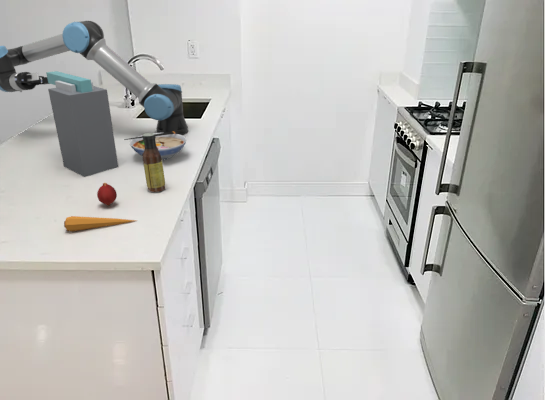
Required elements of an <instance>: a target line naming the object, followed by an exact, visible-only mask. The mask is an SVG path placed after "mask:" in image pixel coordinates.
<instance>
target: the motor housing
mask: <svg viewBox="0 0 545 400" xmlns="http://www.w3.org/2000/svg"><path fill="white" fill-rule="evenodd" d="M91 85H92V91H91V92H84V93H81V92H77V91H76V88H75V85H74V84H70V83H66V82H63V81H55V85H54V86H55V87H52V88H48V95H49V100H50V104H51V110H52V114H53V118H54V119H53V120H54V124H55V125H54V126H55V130H56V134H57V138H58V144H59V149H60V154H61V158H62V164H63V167H65V169H67V170H70V171H72V172H74V173H76V174H77V175H79V176H81V177H84V178H86V177H89V176H94V175H96V174H101V173H104V172H106V171H109V170H113V169H116V168H117V169H118V168H119V163H118V155H117V150H116V142H115V141H116V140H115V136H114V135H115V134H114V129H113V122H112V115H111V108H110V101H109V94H108V90H107V88H102V87H99V86H94V82H92V81H91Z"/></svg>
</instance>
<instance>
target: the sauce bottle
mask: <svg viewBox="0 0 545 400" xmlns="http://www.w3.org/2000/svg"><path fill="white" fill-rule="evenodd" d="M154 133H155V132H145V133H143V134H142V135H143V140H144V145H145V146H144V147H145V149H144V152H143V156H142V161H143V169H144V176H145V182H146V187H147V191H148V192H151V193H160V192H163V191H164V190H166V181H165V180H166V179H165V172H164V166H163V165H164V164H163V160H162V157H161V155H160V153H159V150H158V148H157V146H156V141H155V138H156V137H155V134H154Z"/></svg>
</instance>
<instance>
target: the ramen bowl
mask: <svg viewBox="0 0 545 400" xmlns="http://www.w3.org/2000/svg"><path fill="white" fill-rule="evenodd" d="M153 133H154V134H155V137H156V138H155V141H156V146H157V148H158V150H159V153H160V155H161V157H162V161H164V159H165V160H167V158H168V159H169V158H172V157H175V156H176V155H178V154H179V153H180V152H181V151H182V149H183V148H184V147H185V145H186V144H187V138H186V136H184V135H180V134H178V133H184V131H183V130H179V131H172V132H166V133H157V132H153ZM126 140H127V141H128V140H129V145H130V147H131V148H132V150H133V151H134V152H135V153H137V154H138V155H139V156H141V157H143V152H144V149H145V147H144V146H145V145H144V140H143V134H142V135H138V136H136V137H131V138H124V141H126Z"/></svg>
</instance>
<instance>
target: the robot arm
mask: <svg viewBox="0 0 545 400" xmlns="http://www.w3.org/2000/svg"><path fill="white" fill-rule="evenodd" d="M67 52H73V53H75V54H80V56H82V57H84V59H86V60H87V61H94V62H95V63H96V64H97V65H98V66H99V67H101V68H102V69H103V70H104V71H105V72H107V74H108V75H110V76H112V77H113V78H114V79H115V80H116V81H117V82H119V83H120V85H122V86H123V87H124V88H126V89H127V90H128V91H129V92H130V93H132V94H133V95H134V96H135V97H136V98H137V99H138V103H139V105H140V106H142V107H143V109H144V112H145V114H146V115H147V116H148V117H149V118H150V119H152V120H155V121H157V123H156V127H155V129H156V133H166V132H172V131H179V130H183V131H184V133H178V134H180V135H182V134H183V135H185V133H186V134H187V133H188V132H189V127H188V124H187V121H186V119H185V117H184V108H183V107H184V106H183V94H182V93H183V91H182V86H181V85H180V84H177V83H176V84H175V83H174V84H172V83H163V84H162V83H161V84H157V83H151V82H150V81H148V79H146V78H145V77H144V76H143V75H142V74H141V73H140V72H138V70H136V69H134V68H133V67H132V65H130V64H129V63H128V62H127V61H126V60H124V59H123V58H122V57H121V56H119V55H118V54H117V53H116V52H114V50H113V49H111V48H110V47H109V46H108V45H107V43H106V39H105V34H104V30H103V29H102V27H101V26H100V25H99V24H98V23H96V22H94V21H93V20H82V21H81V20H80V21H72V22H70V23H68V24H66V26H64V28H63V29H62V33H61V34H57V35H53V36H51V37H48V38H45V39H40V40H38V41H35V42H31V43H28V44H24V45H22V46H21V45H20V46H18V47H14V48H9V49H7V47H6V46H5V45H0V91H1V92H4V93H15V92H19V93H22V92H23V91H30V90H34V89H35V88H36V86H39V85H50V83H48V79H47V76H44V75H39V72H29V71H24V72H22V71H21V72H17V71H16V68H15V67H18V66H21V65H23V66H24V65H27V64H30V63H32V62H35V61H39V60H43V59H46V58H49V57H53V56H55V55H56V56H57V55H61V54H63V53H67ZM183 135H182V136H183Z"/></svg>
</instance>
